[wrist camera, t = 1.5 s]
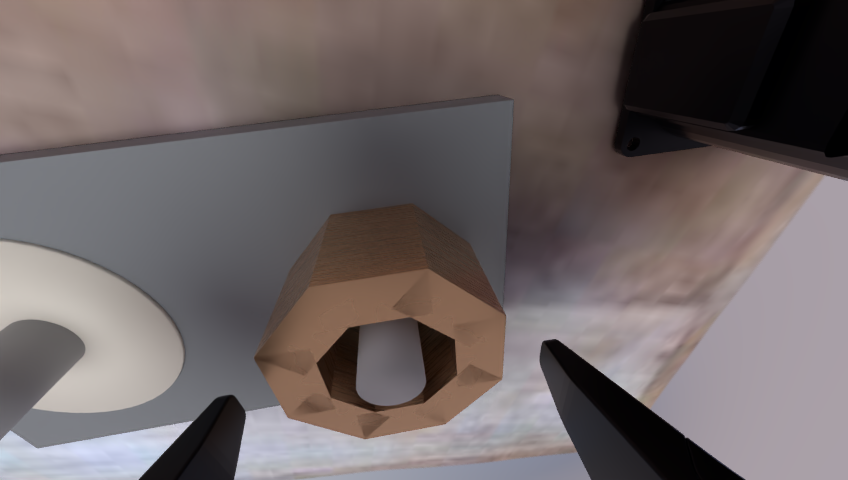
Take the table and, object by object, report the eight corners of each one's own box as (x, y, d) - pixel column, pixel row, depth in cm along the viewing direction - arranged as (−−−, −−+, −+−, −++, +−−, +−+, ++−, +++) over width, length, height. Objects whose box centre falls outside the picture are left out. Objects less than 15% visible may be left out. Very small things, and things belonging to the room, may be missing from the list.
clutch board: (498, 94, 11) (626, 133, 5) (491, 343, 18) (544, 477, 12) (-230, 182, 9) (-1120, 365, 4) (64, 417, 16) (-103, 609, 11)
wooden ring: (468, 195, 11) (509, 256, 8) (471, 331, 15) (499, 413, 11) (270, 223, 11) (220, 301, 7) (323, 356, 14) (306, 450, 11)
